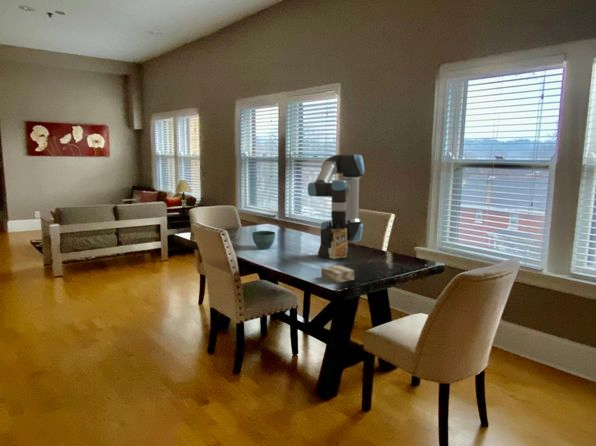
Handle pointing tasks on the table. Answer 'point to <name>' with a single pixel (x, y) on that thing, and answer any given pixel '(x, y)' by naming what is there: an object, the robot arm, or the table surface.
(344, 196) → the robot arm
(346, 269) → the birch stand
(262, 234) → the flower pot
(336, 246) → the candy box
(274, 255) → the table surface
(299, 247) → the table surface
